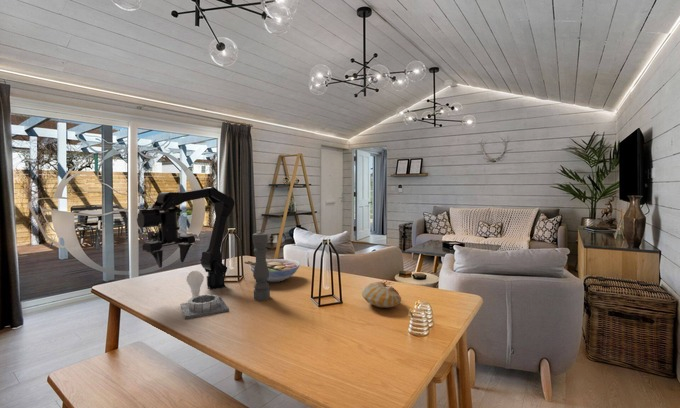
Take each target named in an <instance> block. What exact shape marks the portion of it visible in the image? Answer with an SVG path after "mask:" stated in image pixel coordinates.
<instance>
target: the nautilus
mask: <svg viewBox="0 0 680 408" xmlns="http://www.w3.org/2000/svg"><path fill="white" fill-rule="evenodd" d="M394 284H395V283H393V282H389V281H388V280H386V281H384V279H383V280H382V281H374V282H372V283H369V284H368V285H366V286H365V287H364V289H363V290H362V292H361V296H362V297H363V299H364V300H365V301H366V303H368V304H370V305H373V306H375V307H377V308H389V309H390V308H393V307H396V306H398V305H399V304H401V302H402V297H401V295H400V294H399V292H398V290H397V289H395V288H394V287H393V286H389V285H394Z"/></svg>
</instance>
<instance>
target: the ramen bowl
mask: <svg viewBox="0 0 680 408" xmlns="http://www.w3.org/2000/svg"><path fill="white" fill-rule="evenodd" d="M266 262H267V266H268V270H269V277H268V279H267V283H268V282H269V283H280V281H281V282H283V281H284V280H286V279H289V278H291V277H292V276H293V275H294V274H295V273H297V271H298V270H299V267H300V266H301V262H300V261H298V260H295V259H290V258H289V259H287V258H286V259H285V258H273V259H266ZM255 263H256V261H255V262H253V261H250V260H248V261H244V262H243V264H244V265H245V264H246V265H249V269H250V271H251V272H252V274H253V273H254V268H255Z"/></svg>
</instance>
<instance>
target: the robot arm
mask: <svg viewBox="0 0 680 408" xmlns="http://www.w3.org/2000/svg"><path fill="white" fill-rule="evenodd" d="M205 198H208V200H209V201H210V202H211V203H212V204H214V209H213V210H214V214H215V218H214V222H213V227H212V232H211V236H210V240H209V241H210V242H209V245H208V248H207V250H206V251H202V253H201V257H200V260H199V261H200V265H201V267H202V268H203V269H204V271H205V273H207V275H206V287H207V288H208V289H210V290H212V289H218V288H219V289H220V288H225V287H226V284H225V273H227V271H228V267H227V266H226V265H225V264H224V263H223V255H222V250H221V249H222V243H223V239H224V235H225V230H226V226H227V221H228V219H229V218H228V217H229V216H230V215H231V214H232V212H233V209H234V207H235V200H234V198H232V197H231V196H228V195H227V194H225V193H224V192H222V191H219V189H217V188H216V187H214V186H210V187H209V186H207V187H205V188H199V189H193V190H187V191H180V192H179V191H175V192H174V191H173V192H172V191H171V192H168V191H164V192H163V191H162V192H159V193H158V194H157V197H156V200H155V202H154V204H153V205H152V206H151V208H148V209H146V208H145V209H144V208H140V209H138V211H139V213H137V218H136V223H137V226H138V227H139V228H140V229H145V228H153V227H154V228H155V227H158V226H159V225H160V227H158V232H157V231H156V232H155V231H154V230H153V231H149V232H147V240H148V241H145V242H144V243H143V244H142V245H141V246H142V251H146V253H149V254H150V255H152V256H153V258H154V260H155V262H156V264H157V266H158V268H162V267H163V255H164V254H163V251H164V250H163V249H162V248H163V247H168V246H172V245H177V246H178V248H179V258H180V262H181V263H184V262H185V259H186V257H187V255H188V252H189V251H190V248H191V247H192V246H193V245H194V243H196V237H195V235H192V234H191V235H189V234H185V235H181V236H180V235H179V233H178V232H179V231H178V230H181V229H180V226H178V217H177V213H182V212H183V210H182V209H181V208H180V207H179V206H180V205H181V204H183V203H185V202H189V201H194V200H195V201H196V200H200V199H205Z"/></svg>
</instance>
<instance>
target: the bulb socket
mask: <svg viewBox="0 0 680 408" xmlns="http://www.w3.org/2000/svg"><path fill="white" fill-rule="evenodd" d="M180 310H181V311H182V314H183V318H184V320H189V319H195V318H200V317H205V316H209V315H214V314H220V313H224V312H225V313H226V312H229V310H230V309H229V307H228V305H227V304H226V302H225V301H224V299H223V298H222V297H221V296H218V294H200V295H199V296H196V297H193V298H192V297H191V298H189V299H188V301H187V302H185V303H184V302H183V303H180Z"/></svg>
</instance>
